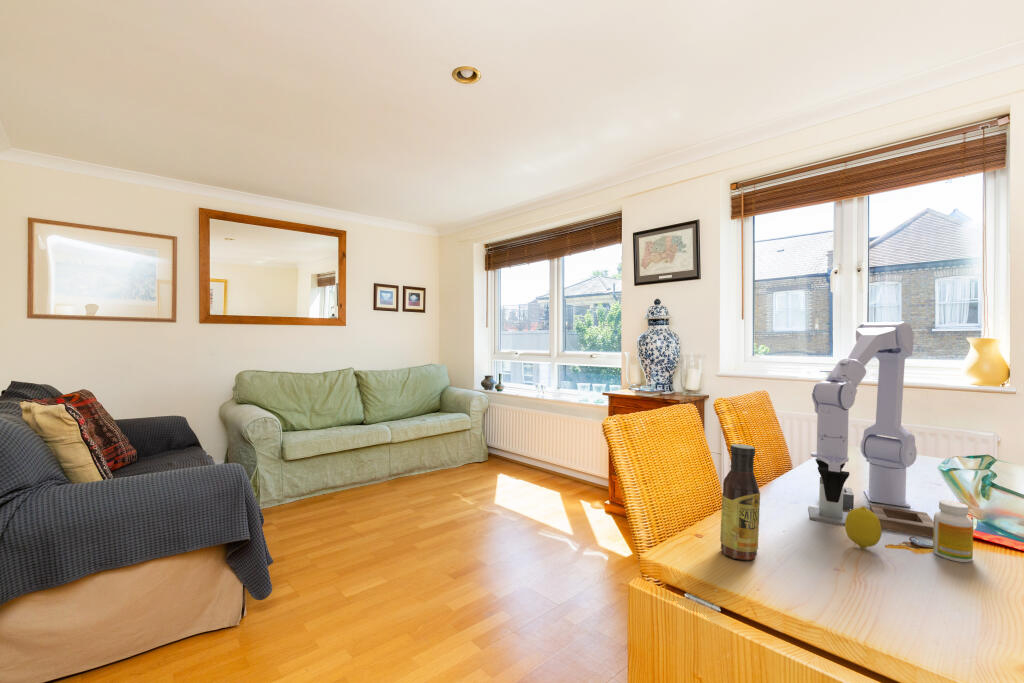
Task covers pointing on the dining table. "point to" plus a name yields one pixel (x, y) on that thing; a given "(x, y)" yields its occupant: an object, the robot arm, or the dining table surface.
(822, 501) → the cylinder
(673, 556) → the dining table surface
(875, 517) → the lemon
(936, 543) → the supplement bottle
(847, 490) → the plunger collar
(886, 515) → the walnut housing
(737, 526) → the sauce bottle
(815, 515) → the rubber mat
